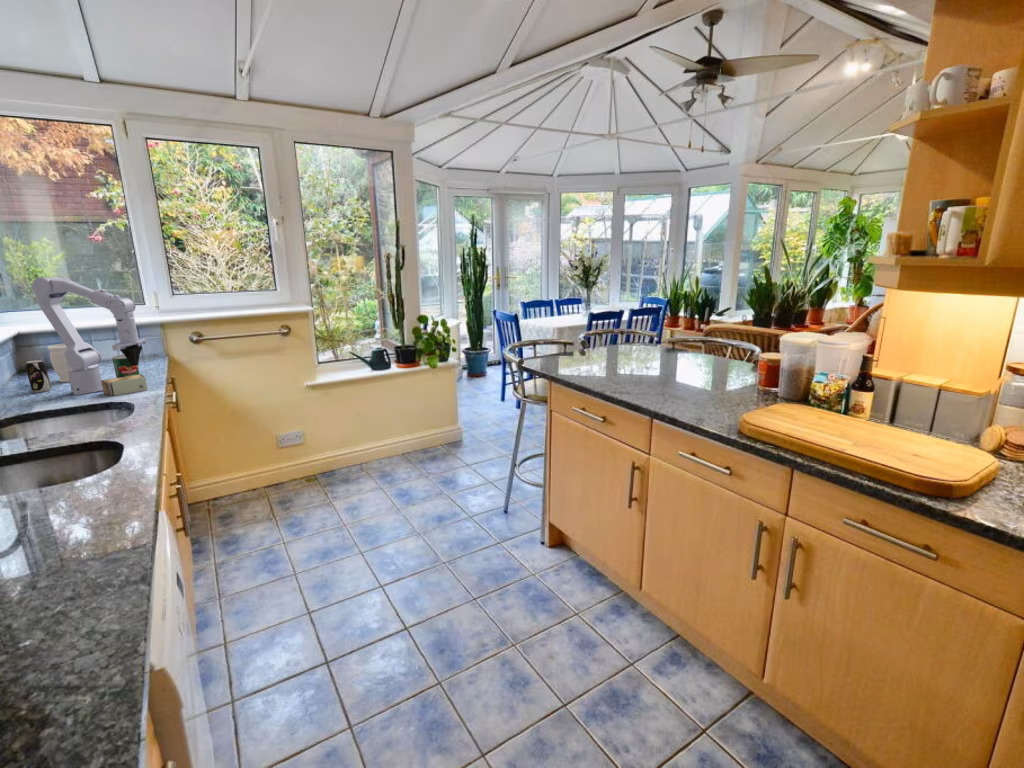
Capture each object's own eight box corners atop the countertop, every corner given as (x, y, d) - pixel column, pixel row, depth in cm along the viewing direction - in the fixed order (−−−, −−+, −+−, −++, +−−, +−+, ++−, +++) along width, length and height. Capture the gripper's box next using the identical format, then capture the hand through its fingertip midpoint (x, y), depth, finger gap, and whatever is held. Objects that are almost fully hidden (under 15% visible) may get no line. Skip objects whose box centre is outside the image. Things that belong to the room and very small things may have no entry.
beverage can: (54, 390, 200) (46, 360, 197) (34, 393, 195) (26, 363, 192) (49, 388, 203) (41, 358, 200) (30, 391, 198) (22, 361, 195)
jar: (94, 377, 220) (86, 342, 216) (72, 383, 210) (63, 347, 206) (72, 376, 221) (63, 342, 217) (49, 382, 211) (39, 347, 207)
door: (110, 396, 190) (107, 383, 189) (109, 395, 191) (106, 382, 190) (148, 390, 198) (145, 377, 197) (147, 389, 199) (144, 377, 198)
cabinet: (107, 396, 191) (104, 383, 190) (104, 393, 195) (101, 380, 194) (147, 388, 200) (144, 376, 199) (143, 386, 204) (140, 374, 203)
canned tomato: (128, 385, 206) (122, 358, 203) (112, 384, 207) (106, 358, 205) (146, 380, 213) (140, 354, 210) (130, 379, 215) (124, 354, 212)
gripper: (122, 333, 186) (129, 369, 189) (151, 327, 200) (158, 361, 203) (103, 333, 186) (111, 369, 190) (134, 327, 200) (141, 361, 204)
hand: (134, 365), depth 196 cm, fingers closed
